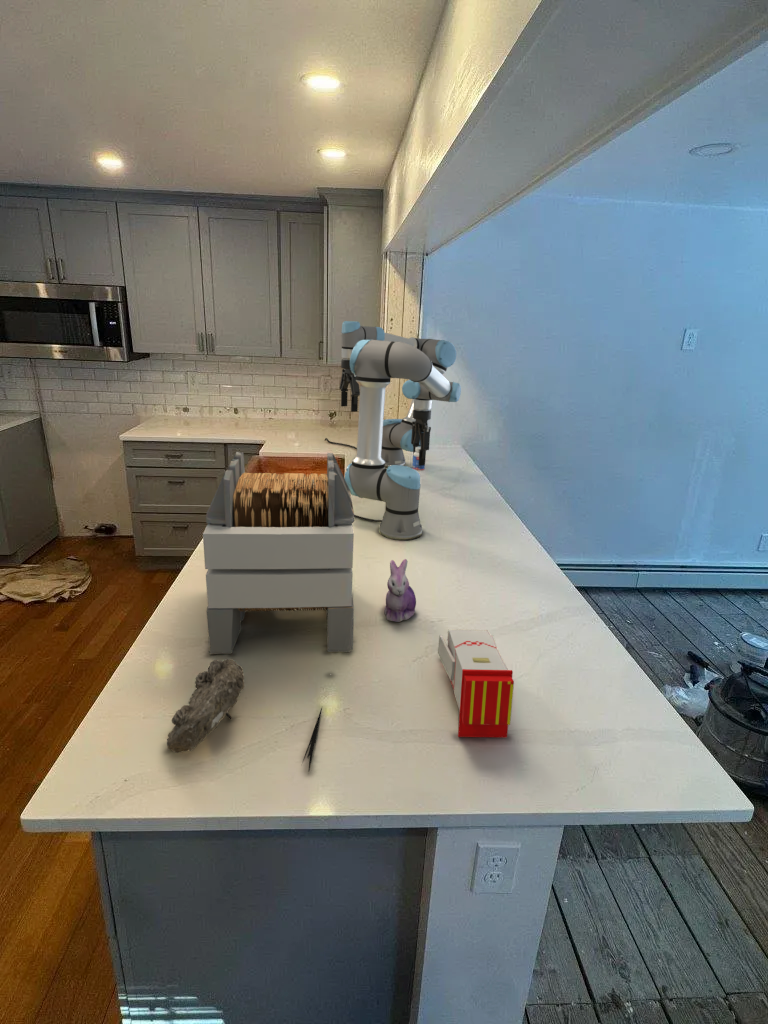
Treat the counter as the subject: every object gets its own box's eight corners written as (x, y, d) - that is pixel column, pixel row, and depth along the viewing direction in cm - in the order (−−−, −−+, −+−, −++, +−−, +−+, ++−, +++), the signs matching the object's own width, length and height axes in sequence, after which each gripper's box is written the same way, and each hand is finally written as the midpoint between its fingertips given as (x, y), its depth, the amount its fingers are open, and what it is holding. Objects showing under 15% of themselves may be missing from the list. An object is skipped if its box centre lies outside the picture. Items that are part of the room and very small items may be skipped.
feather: (331, 679, 122) (336, 673, 122) (307, 777, 96) (313, 769, 95) (324, 675, 122) (329, 669, 121) (298, 772, 95) (304, 764, 95)
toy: (488, 613, 130) (523, 677, 101) (484, 667, 133) (517, 744, 104) (435, 612, 130) (455, 676, 101) (432, 666, 133) (451, 743, 103)
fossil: (192, 660, 117) (244, 628, 112) (224, 691, 120) (276, 661, 115) (142, 746, 98) (202, 712, 93) (182, 779, 101) (242, 748, 96)
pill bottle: (415, 471, 242) (416, 449, 238) (410, 468, 246) (411, 446, 243) (426, 471, 244) (428, 448, 240) (421, 467, 248) (422, 446, 245)
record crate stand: (229, 585, 158) (221, 442, 144) (346, 584, 161) (350, 444, 148) (206, 656, 126) (193, 481, 112) (353, 652, 130) (358, 483, 116)
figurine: (392, 627, 141) (395, 572, 136) (374, 608, 149) (376, 556, 144) (425, 619, 145) (429, 566, 140) (405, 601, 154) (408, 550, 149)
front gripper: (440, 413, 230) (436, 468, 237) (420, 405, 246) (417, 457, 253) (423, 413, 227) (420, 469, 235) (405, 406, 243) (402, 458, 251)
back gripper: (368, 362, 233) (367, 413, 240) (348, 356, 255) (347, 404, 262) (351, 362, 230) (350, 414, 237) (332, 356, 252) (332, 404, 259)
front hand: (418, 463), depth 244 cm, fingers closed on pill bottle, 5 cm apart
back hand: (349, 408), depth 250 cm, fingers open, 13 cm apart
